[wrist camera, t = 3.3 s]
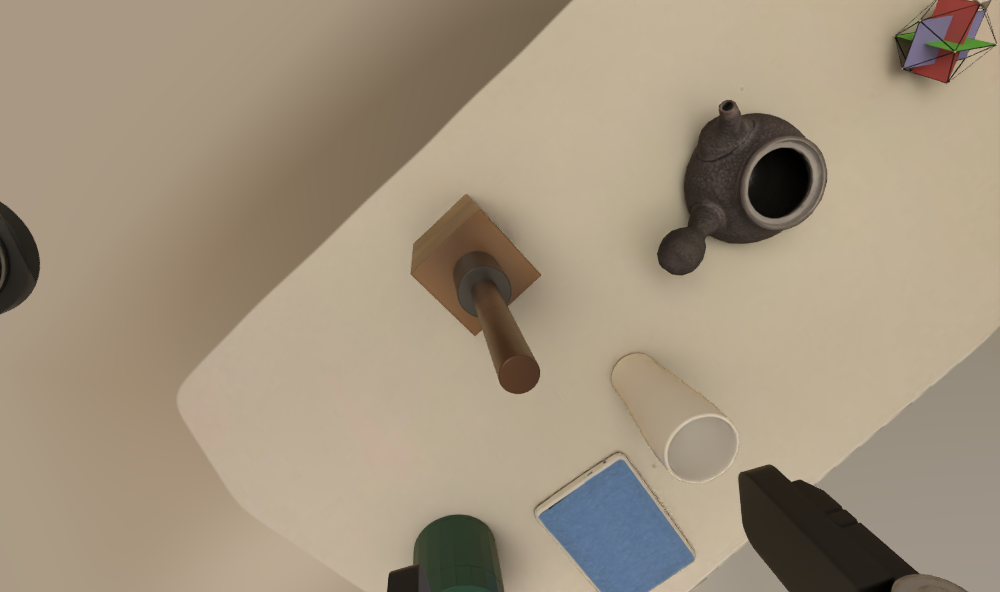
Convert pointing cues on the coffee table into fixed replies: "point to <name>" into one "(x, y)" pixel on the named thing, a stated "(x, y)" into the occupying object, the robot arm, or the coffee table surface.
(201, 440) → the coffee table surface
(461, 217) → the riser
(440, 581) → the green hollow cylinder
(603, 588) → the tablet
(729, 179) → the teapot
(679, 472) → the white tall cup
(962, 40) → the geometric puzzle
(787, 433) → the coffee table surface
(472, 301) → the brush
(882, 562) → the robot arm
